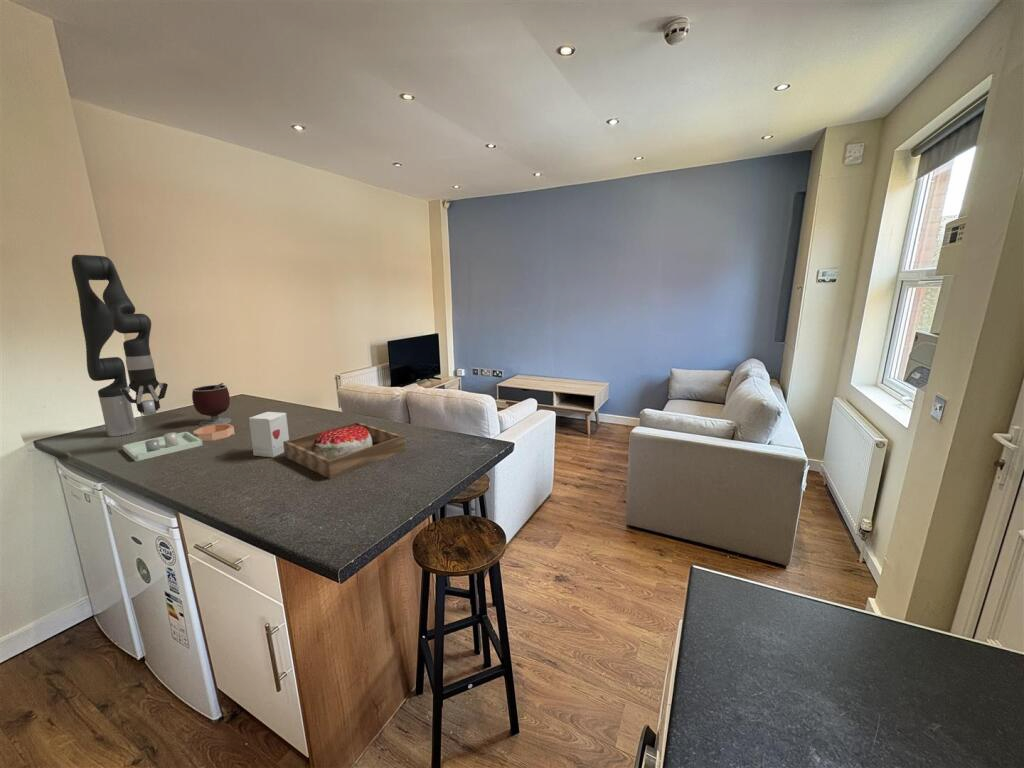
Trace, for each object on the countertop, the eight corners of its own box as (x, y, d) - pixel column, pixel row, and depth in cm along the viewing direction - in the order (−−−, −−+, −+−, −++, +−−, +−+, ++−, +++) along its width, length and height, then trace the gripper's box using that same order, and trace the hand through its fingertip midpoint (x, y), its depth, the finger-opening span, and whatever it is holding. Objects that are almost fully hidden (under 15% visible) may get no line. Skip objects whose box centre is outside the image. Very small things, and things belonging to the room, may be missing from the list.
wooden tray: (285, 456, 149) (283, 441, 148) (357, 434, 173) (356, 421, 172) (330, 479, 131) (328, 461, 130) (404, 451, 155) (404, 436, 154)
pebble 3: (164, 446, 157) (162, 434, 156) (176, 443, 160) (174, 431, 159) (167, 448, 155) (165, 436, 153) (179, 445, 158) (177, 433, 156)
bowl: (191, 438, 168) (189, 429, 167) (226, 430, 178) (225, 422, 177) (202, 445, 161) (200, 435, 160) (238, 436, 171) (236, 427, 170)
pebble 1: (142, 413, 154) (139, 401, 153) (154, 411, 157) (152, 399, 156) (144, 415, 152) (142, 402, 151) (157, 413, 155) (155, 400, 154)
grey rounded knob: (146, 454, 149) (143, 441, 148) (159, 451, 152) (157, 438, 151) (149, 456, 147) (146, 443, 145) (162, 453, 150) (160, 440, 148)
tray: (123, 452, 153) (122, 445, 152) (188, 438, 169) (186, 431, 168) (135, 463, 143) (134, 456, 142) (203, 447, 158) (202, 440, 158)
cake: (351, 439, 169) (349, 416, 167) (384, 452, 154) (382, 428, 152) (294, 455, 151) (291, 430, 149) (326, 472, 136) (323, 445, 134)
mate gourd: (189, 426, 185) (182, 383, 180) (218, 417, 198) (212, 377, 193) (214, 429, 180) (207, 386, 176) (242, 420, 193) (236, 379, 189)
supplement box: (273, 458, 148) (268, 419, 145) (252, 456, 150) (247, 417, 147) (291, 449, 157) (286, 412, 154) (271, 447, 159) (266, 411, 156)
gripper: (162, 364, 158) (169, 405, 162) (112, 369, 147) (122, 413, 151) (167, 366, 154) (175, 409, 158) (117, 371, 143) (126, 417, 146)
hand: (149, 411), depth 154 cm, fingers closed on pebble 1, 3 cm apart
